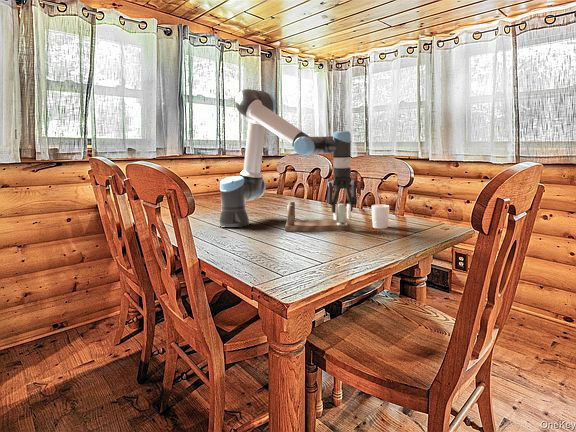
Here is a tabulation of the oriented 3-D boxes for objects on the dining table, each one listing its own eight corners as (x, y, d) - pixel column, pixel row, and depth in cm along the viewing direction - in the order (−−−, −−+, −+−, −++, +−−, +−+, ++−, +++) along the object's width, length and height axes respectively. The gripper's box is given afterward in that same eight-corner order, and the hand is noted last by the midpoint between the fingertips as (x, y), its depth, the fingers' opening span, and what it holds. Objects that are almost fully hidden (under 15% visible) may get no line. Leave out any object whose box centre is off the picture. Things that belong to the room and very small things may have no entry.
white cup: (389, 229, 169) (390, 207, 167) (371, 229, 171) (371, 207, 169) (388, 225, 177) (388, 204, 175) (371, 225, 179) (371, 204, 177)
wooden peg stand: (285, 231, 171) (284, 206, 168) (287, 225, 184) (286, 201, 181) (348, 230, 169) (348, 205, 167) (345, 224, 182) (345, 200, 180)
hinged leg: (337, 220, 178) (337, 201, 176) (344, 220, 178) (344, 201, 176) (338, 224, 169) (338, 204, 168) (345, 224, 169) (345, 204, 167)
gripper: (325, 168, 160) (325, 222, 164) (365, 166, 165) (365, 219, 169) (318, 167, 167) (319, 219, 171) (357, 165, 172) (357, 216, 176)
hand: (342, 219), depth 170 cm, fingers open, 6 cm apart
